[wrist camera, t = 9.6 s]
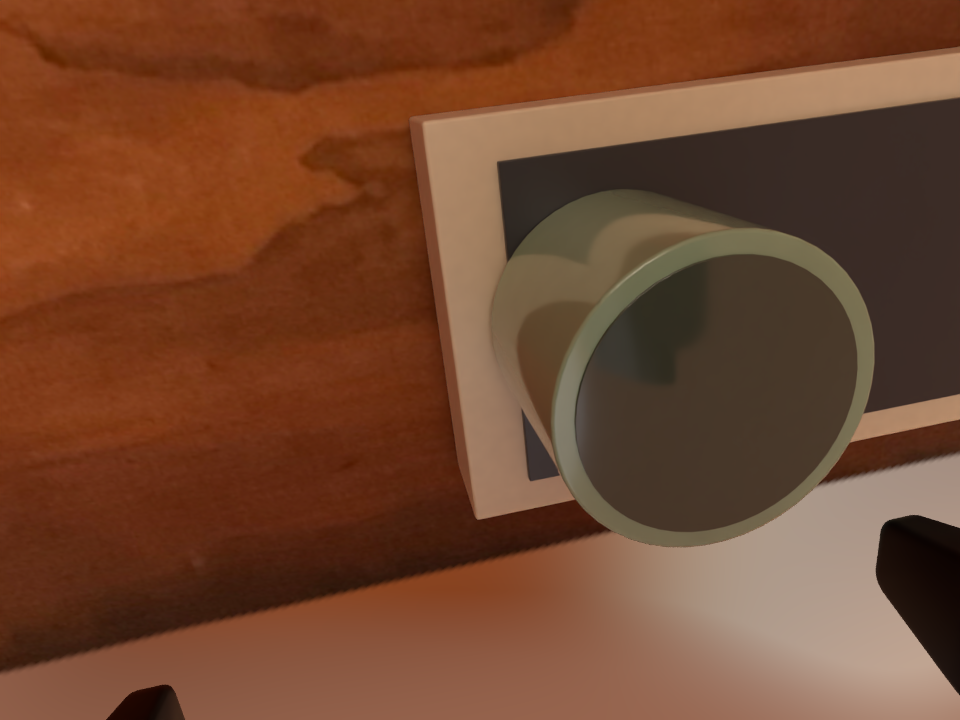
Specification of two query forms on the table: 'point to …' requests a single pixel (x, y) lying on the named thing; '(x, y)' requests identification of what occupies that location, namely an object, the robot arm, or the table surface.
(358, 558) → the table surface
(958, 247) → the copier
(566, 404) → the cup
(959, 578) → the robot arm
